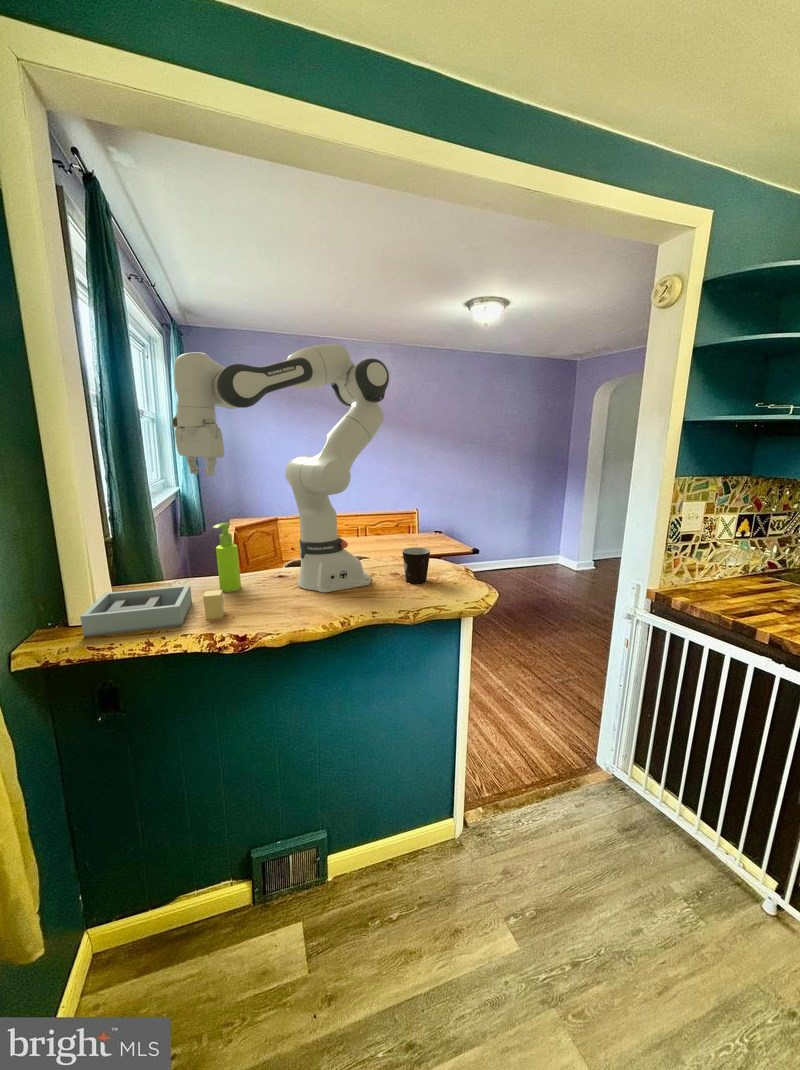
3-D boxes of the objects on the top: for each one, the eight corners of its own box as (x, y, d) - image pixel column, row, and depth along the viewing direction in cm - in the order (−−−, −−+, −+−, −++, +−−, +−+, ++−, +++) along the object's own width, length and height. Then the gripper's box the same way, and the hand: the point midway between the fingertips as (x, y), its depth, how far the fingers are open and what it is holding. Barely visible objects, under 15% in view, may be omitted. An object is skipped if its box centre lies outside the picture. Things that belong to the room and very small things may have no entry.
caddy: (192, 602, 116) (190, 585, 115) (181, 625, 102) (179, 606, 100) (107, 611, 111) (105, 592, 110) (83, 637, 96) (80, 616, 95)
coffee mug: (404, 576, 138) (404, 547, 136) (430, 577, 137) (431, 547, 135) (399, 588, 127) (399, 556, 125) (427, 589, 126) (428, 557, 124)
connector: (224, 611, 110) (222, 589, 109) (222, 617, 107) (220, 594, 105) (207, 613, 109) (205, 591, 108) (205, 619, 105) (203, 596, 104)
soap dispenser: (213, 591, 125) (206, 525, 121) (229, 584, 131) (223, 520, 127) (229, 593, 123) (222, 526, 119) (245, 586, 129) (239, 522, 125)
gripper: (228, 419, 104) (232, 476, 107) (193, 421, 117) (197, 472, 120) (202, 418, 99) (207, 477, 102) (169, 420, 113) (174, 473, 116)
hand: (202, 474), depth 111 cm, fingers open, 8 cm apart
